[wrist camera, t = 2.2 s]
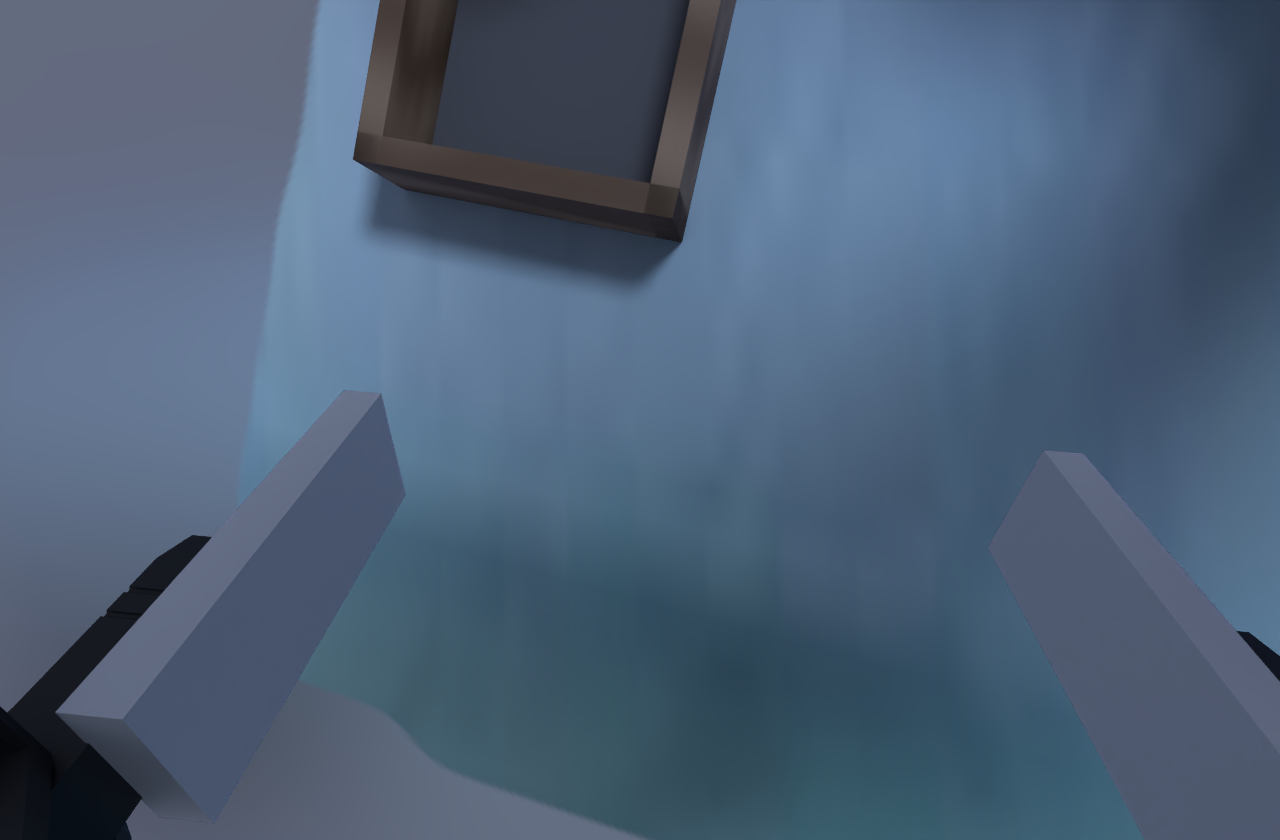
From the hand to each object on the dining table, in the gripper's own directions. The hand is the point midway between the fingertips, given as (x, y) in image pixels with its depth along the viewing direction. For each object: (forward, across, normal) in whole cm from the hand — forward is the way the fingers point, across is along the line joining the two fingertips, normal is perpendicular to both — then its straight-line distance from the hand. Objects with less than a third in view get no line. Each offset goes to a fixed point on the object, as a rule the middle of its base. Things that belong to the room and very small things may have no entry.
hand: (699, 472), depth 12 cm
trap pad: (+23, -7, +5) cm, 25 cm away
